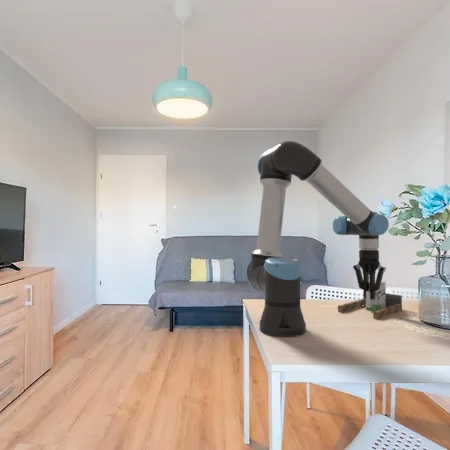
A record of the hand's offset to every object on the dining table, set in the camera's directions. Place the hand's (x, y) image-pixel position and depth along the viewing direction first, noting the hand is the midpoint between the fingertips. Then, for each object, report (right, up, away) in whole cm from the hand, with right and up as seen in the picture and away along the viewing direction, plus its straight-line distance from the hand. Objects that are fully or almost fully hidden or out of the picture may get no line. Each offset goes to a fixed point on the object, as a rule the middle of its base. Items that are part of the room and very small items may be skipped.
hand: (369, 306), depth 138 cm
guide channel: (0, -2, 0) cm, 2 cm away
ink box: (+4, -2, +4) cm, 6 cm away
